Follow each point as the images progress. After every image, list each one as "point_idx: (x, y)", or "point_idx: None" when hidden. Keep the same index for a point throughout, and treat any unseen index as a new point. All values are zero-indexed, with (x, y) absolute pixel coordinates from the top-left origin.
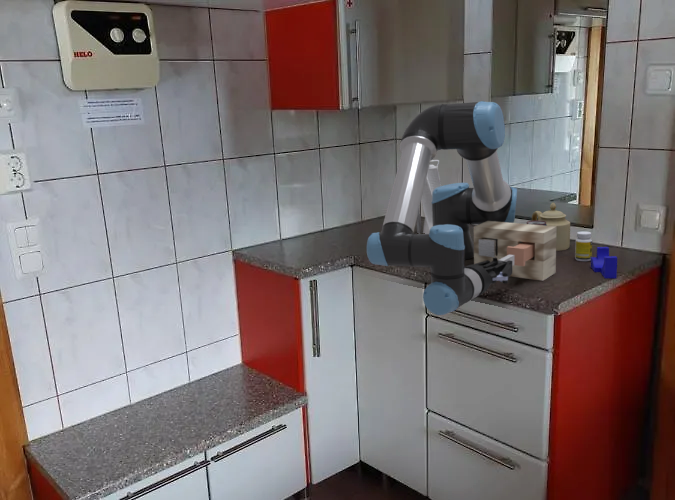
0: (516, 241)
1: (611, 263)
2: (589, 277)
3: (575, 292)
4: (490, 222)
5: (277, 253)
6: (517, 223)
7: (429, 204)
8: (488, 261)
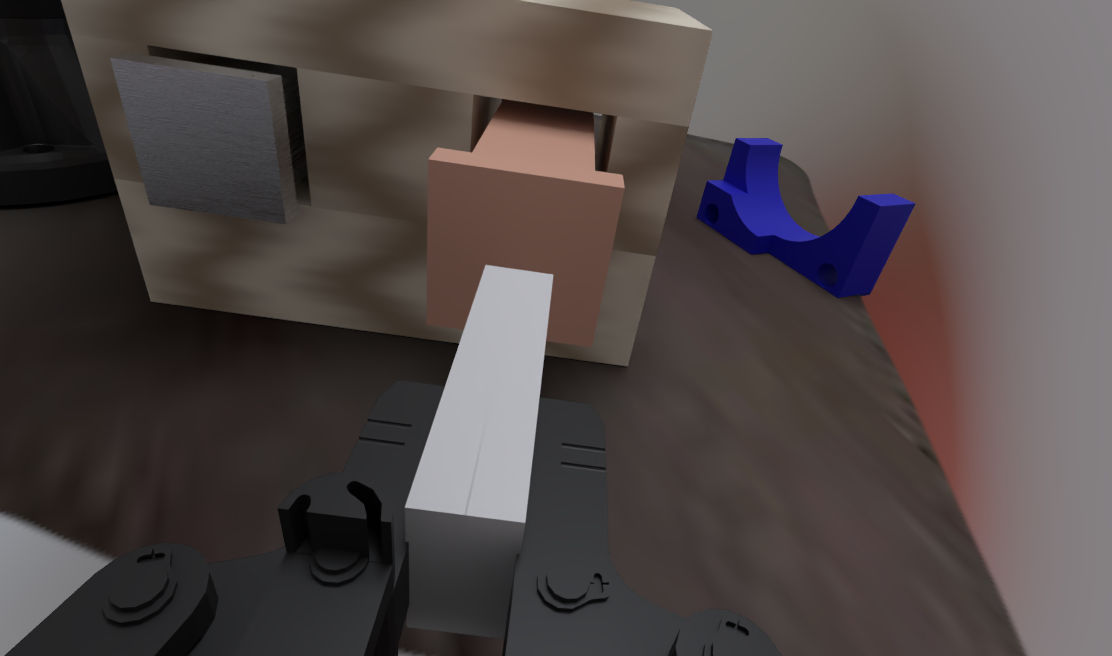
0: (463, 97)
1: (886, 231)
2: (781, 297)
3: (925, 499)
4: None
5: None
6: None
7: None
8: (165, 630)
